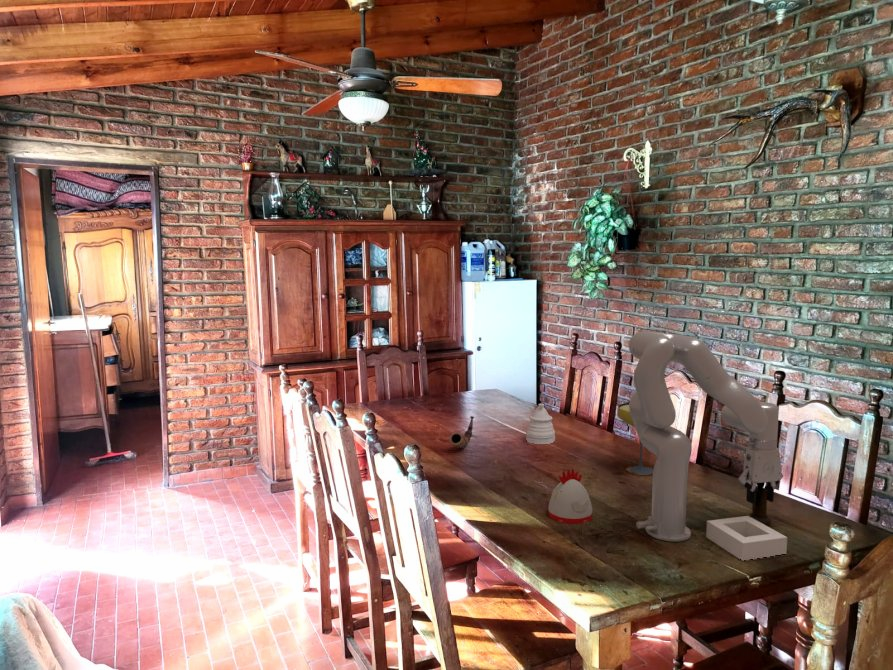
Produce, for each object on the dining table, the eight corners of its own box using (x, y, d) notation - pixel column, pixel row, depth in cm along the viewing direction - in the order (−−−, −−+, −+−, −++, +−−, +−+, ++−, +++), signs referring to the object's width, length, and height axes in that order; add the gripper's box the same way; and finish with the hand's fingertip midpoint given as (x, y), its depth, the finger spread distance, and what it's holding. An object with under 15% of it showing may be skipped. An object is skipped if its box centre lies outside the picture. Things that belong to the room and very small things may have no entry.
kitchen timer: (540, 510, 201) (540, 465, 199) (576, 503, 206) (576, 460, 205) (563, 526, 188) (564, 479, 187) (601, 519, 193) (602, 473, 192)
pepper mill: (749, 518, 193) (752, 462, 191) (772, 523, 189) (775, 466, 187) (744, 525, 188) (747, 468, 186) (767, 531, 184) (770, 472, 182)
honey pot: (557, 446, 270) (557, 406, 268) (527, 447, 270) (528, 406, 268) (552, 438, 283) (553, 400, 281) (524, 438, 283) (524, 400, 281)
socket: (742, 561, 166) (743, 543, 165) (706, 537, 180) (706, 520, 180) (786, 554, 169) (787, 537, 169) (747, 531, 184) (748, 515, 183)
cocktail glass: (648, 482, 225) (651, 415, 222) (606, 470, 239) (608, 407, 236) (674, 471, 237) (676, 407, 234) (632, 460, 250) (634, 400, 248)
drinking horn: (448, 454, 260) (448, 431, 259) (466, 436, 288) (466, 415, 287) (461, 455, 259) (461, 432, 258) (478, 437, 287) (478, 416, 285)
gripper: (747, 449, 180) (744, 509, 182) (796, 444, 184) (793, 503, 186) (729, 442, 187) (727, 499, 189) (777, 438, 191) (774, 494, 193)
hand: (759, 500), depth 188 cm, fingers open, 5 cm apart
